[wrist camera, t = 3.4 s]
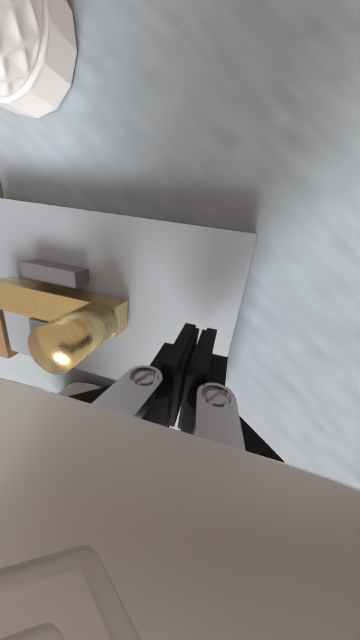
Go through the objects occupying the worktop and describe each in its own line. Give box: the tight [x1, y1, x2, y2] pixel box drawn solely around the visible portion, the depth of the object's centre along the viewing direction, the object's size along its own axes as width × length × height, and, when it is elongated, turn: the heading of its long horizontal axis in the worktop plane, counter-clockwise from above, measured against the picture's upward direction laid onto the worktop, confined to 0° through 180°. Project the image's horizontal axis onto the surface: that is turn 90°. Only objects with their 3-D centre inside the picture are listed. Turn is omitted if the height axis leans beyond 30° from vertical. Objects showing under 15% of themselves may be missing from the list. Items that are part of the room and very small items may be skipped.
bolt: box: [0, 276, 128, 374], centre depth 13 cm, size 9×2×6 cm, turn 83°
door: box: [0, 185, 258, 380], centre depth 15 cm, size 26×14×8 cm, turn 83°
